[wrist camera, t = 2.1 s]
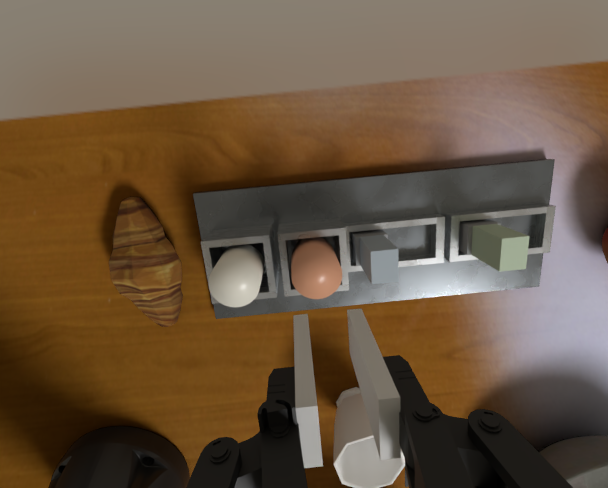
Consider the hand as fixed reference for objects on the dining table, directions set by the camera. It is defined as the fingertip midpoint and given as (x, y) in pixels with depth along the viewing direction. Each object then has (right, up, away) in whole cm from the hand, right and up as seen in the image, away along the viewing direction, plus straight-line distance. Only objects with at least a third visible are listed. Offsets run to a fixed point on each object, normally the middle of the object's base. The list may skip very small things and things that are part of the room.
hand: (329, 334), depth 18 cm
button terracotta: (-1, +4, +12) cm, 13 cm away
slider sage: (+15, +6, +15) cm, 22 cm away
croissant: (-16, +3, +16) cm, 23 cm away
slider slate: (+5, +5, +15) cm, 16 cm away
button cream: (-7, +3, +12) cm, 15 cm away
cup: (+6, -14, +22) cm, 27 cm away
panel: (+6, +5, +16) cm, 18 cm away
